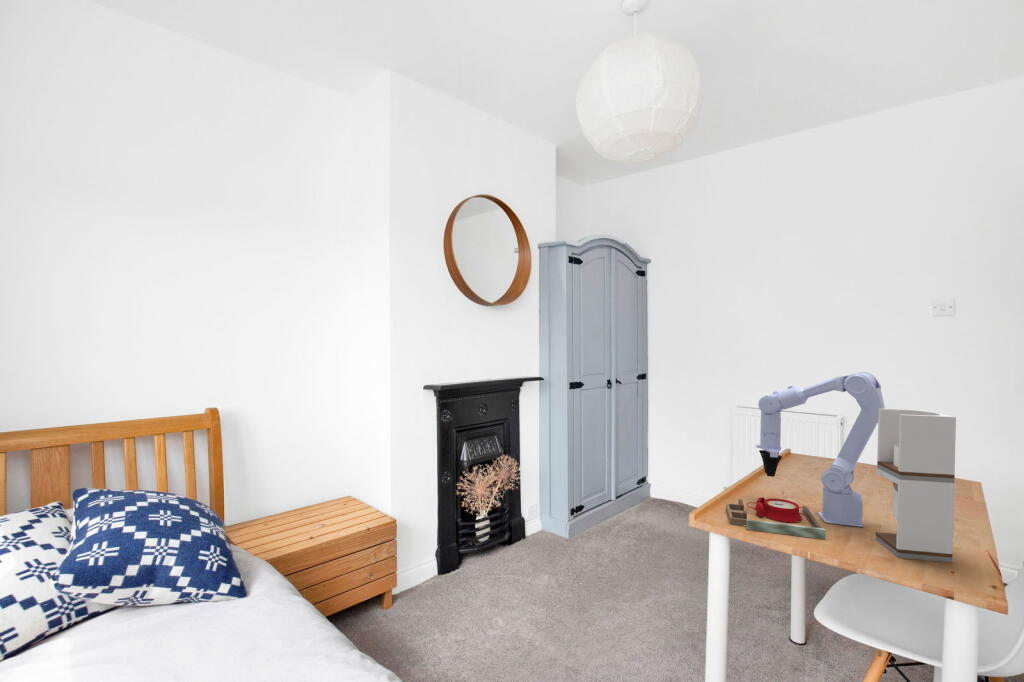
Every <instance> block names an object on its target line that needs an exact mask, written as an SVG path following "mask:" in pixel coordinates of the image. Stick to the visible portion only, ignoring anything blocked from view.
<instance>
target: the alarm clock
mask: <svg viewBox="0 0 1024 682" xmlns="http://www.w3.org/2000/svg"><path fill="white" fill-rule="evenodd" d="M749 504H756V505H755V507H752V506H750V505H749ZM746 506H747V508H750V509H754V510H755V513H756V515H757V516H758V517H759V518H764V517H765V518H768V519H770V520H773V521H776V522H779V523H780V522H781V523H791V524H793V523H799V522H801V521H803V519H804V518H802V516H801V515H803V516H805V514H804V513H803V512H802V513H801V512H800V508H802V509H803V508H804V506H805V505H802V506H800V505H799V504H798V503H796V502H794V501H791V500H788V499H783V498H767V499H765V497H762V496H761V497H760V496H759V497H758V498H757V500H756V502H751V501H750V502H747V503H746Z"/></svg>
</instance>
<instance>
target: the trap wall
mask: <svg viewBox="0 0 1024 682" xmlns="http://www.w3.org/2000/svg"><path fill="white" fill-rule="evenodd" d="M737 500H738V502H737V504H738V505H741V508H740V510H741V511H743V519H746V526H745V529H746V528H747V529H751V530H750V531H755V530H756V531H755V532H763V531H764V532H765V533H772V534H780V535H787V536H797V537H804V538H811V539H818V540H826V532H827V531H826V529H825V528H823V527H822V526H821V524H819V522H818V520H817V519H816V518H815V516H814V515H813V514H812V512H811V511H810V510H809V508H808V506H805V505H803V506H804V508H802V514H805V515H804V517H806V519H807V521H808V522H809V524H810V525H811V526H805V525H796V524H788V523H783V522H781V523H780V522H772V521H766V520H765V521H763V520H757V519H756V520H754V519H748V513H747V511H746V510H745V503H744V502H743V500H742V499H741V498H738V499H737ZM747 529H746V530H747Z"/></svg>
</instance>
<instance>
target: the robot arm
mask: <svg viewBox="0 0 1024 682" xmlns="http://www.w3.org/2000/svg"><path fill="white" fill-rule="evenodd" d="M832 391H836V392H840V393H844V392H847V393H848V394H849V395H850V396H851V397H852V398H853V399H855V400H856V402H857V404H858V405H859V407H860V412H859V413H858V416H857V417H856V420H855V421H854V424H853V425H852V427H851V429H850V431H849V433H848V435H847V437H846V438H845V441H844V443H843V445H842V446H841V449H840V451H839V453H838V455H837V456H836V458H835V459H834V461H832V463H831V465H830V467H829V468H828V469H826V470H825V471H824V472H822V473H821V476H820V480H821V484H822V485H823V486H822V508H821V509H822V511H818V512H817V514H818V516H820V518H821V519H822V521H823V522H824V523H826V524H834V525H843V526H851V527H858V528H859V527H860V528H861V527H862V528H863V527H864V525H863V511H864V509H863V505H864V503H863V498H862V495H861V493H860V492H859V491H853V489H852V487H851V484H852V483H853V482H854V479H855V475H854V471H855V470H856V467H857V463H858V461H859V459H860V457H861V455H862V454H863V452H864V449H865V447H866V445H867V444H868V442H869V440H870V438H871V437H872V434H873V433H874V431H875V429H876V427H877V426H878V411H879V409H886V406H885V404H884V403H885V402H884V398H883V394H882V386H881V384H880V382H879V381H878V379H877V378H876V376H875V375H873V374H872V373H870V372H866V371H862V372H856V373H852V374H846V375H841V376H835V377H832V378H829V379H826V380H823V381H820V382H818V383H815V384H812V385H809V386H806V387H801V386H799V385H795V386H794V385H793V384H792V385H790V386H787V388H786V389H783V390H781V391H777V390H776V391H773V392H772V394H768V395H767V394H766V395H764V396H761V398H760V399H759V400H758V408H759V410H760V439H759V442H760V443H759V444H755V447H756V449H760V450H758V452H759V453H760V456H761V459H762V464H763V468H764V473H765V474H766V476H767V477H771V478H772V477H775V475H776V473H777V468H778V466H779V463H780V461H781V460H782V458H783V456H782V455H781V454H780V451H781V450H782V447H781V439H782V437H781V436H782V435H781V434H782V433H781V432H782V431H781V428H782V423H781V422H782V419H781V413H782V411H783V410H784V411H785V410H788V409H792V408H794V407H798V406H801V405H805V404H807V400H808V399H809V398H811V397H815V396H816V397H817V396H819V395H823V394H826V393H830V392H832ZM779 454H780V455H779Z"/></svg>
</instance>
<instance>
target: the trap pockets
mask: <svg viewBox="0 0 1024 682" xmlns="http://www.w3.org/2000/svg"><path fill="white" fill-rule="evenodd" d="M725 505H726V506H725V510H726V514H727V517H729V518H728V522H729V521H730V522H729V524H730V525H733V524H735V525H734V526H741V525H746V519H743V511H741V510H740V508H741V505H738V503H737V504H735V503H728V502H727V503H725Z"/></svg>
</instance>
